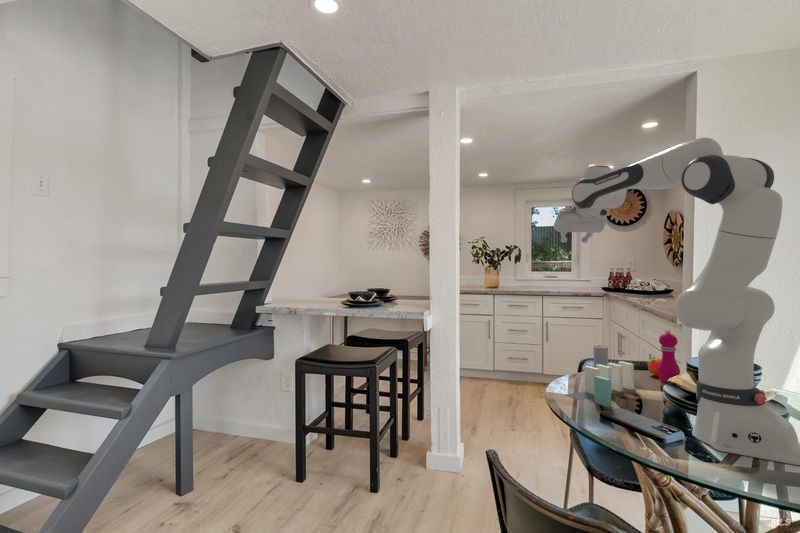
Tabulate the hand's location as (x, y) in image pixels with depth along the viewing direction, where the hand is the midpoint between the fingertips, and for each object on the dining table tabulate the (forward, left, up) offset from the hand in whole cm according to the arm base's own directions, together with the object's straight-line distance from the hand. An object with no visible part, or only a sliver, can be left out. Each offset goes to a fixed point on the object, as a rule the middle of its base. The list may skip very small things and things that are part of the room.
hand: (573, 242), depth 159 cm
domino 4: (-14, +1, -54) cm, 56 cm away
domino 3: (-17, +21, -54) cm, 61 cm away
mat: (-12, +7, -54) cm, 56 cm away
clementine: (-19, -32, -55) cm, 66 cm away
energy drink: (-3, -17, -54) cm, 57 cm away
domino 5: (-16, -4, -54) cm, 56 cm away
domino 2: (-12, +6, -54) cm, 55 cm away
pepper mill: (-25, -25, -54) cm, 65 cm away
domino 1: (-10, +11, -54) cm, 56 cm away
